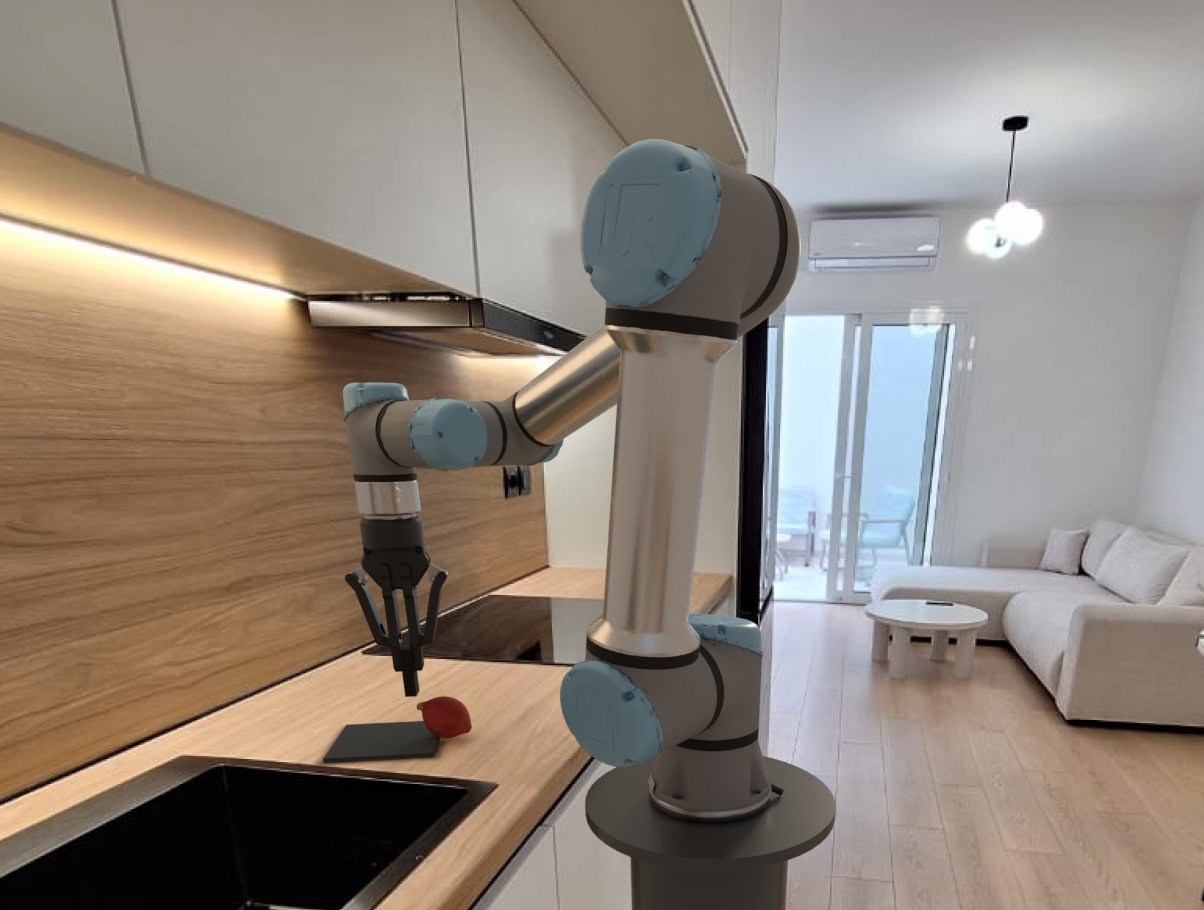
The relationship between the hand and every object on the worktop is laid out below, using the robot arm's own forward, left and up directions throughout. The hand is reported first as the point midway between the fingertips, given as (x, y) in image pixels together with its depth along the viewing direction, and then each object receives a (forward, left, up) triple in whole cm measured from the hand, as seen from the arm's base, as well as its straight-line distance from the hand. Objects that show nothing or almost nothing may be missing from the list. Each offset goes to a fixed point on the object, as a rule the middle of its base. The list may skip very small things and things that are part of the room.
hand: (412, 693), depth 111 cm
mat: (+4, 0, -7) cm, 8 cm away
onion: (-8, 0, -6) cm, 9 cm away
